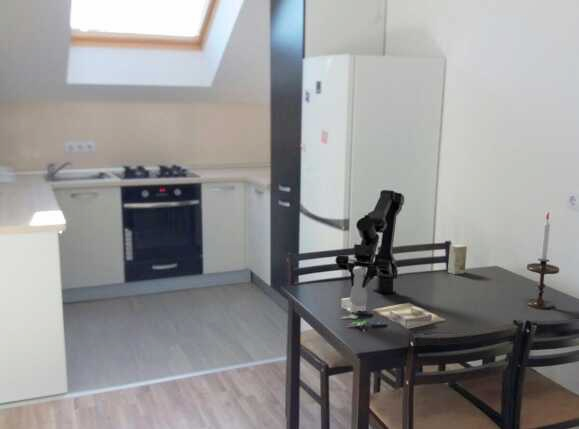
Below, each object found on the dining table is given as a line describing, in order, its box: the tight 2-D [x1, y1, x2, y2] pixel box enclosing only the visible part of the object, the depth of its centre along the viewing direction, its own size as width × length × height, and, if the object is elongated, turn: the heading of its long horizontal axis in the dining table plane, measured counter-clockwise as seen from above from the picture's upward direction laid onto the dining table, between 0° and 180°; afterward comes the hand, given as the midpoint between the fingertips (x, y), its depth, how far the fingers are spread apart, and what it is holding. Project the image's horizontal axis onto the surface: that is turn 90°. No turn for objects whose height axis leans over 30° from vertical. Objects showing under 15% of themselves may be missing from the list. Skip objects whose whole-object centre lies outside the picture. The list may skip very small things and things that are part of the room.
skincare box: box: [447, 243, 468, 275], centre depth 259 cm, size 6×4×12 cm
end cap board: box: [372, 302, 446, 329], centre depth 205 cm, size 19×16×3 cm
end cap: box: [340, 296, 367, 314], centre depth 212 cm, size 6×7×3 cm
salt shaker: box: [349, 266, 368, 306], centre depth 199 cm, size 6×6×13 cm
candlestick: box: [526, 211, 560, 310], centre depth 215 cm, size 11×11×35 cm
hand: (357, 286), depth 198 cm, fingers closed on salt shaker, 3 cm apart
